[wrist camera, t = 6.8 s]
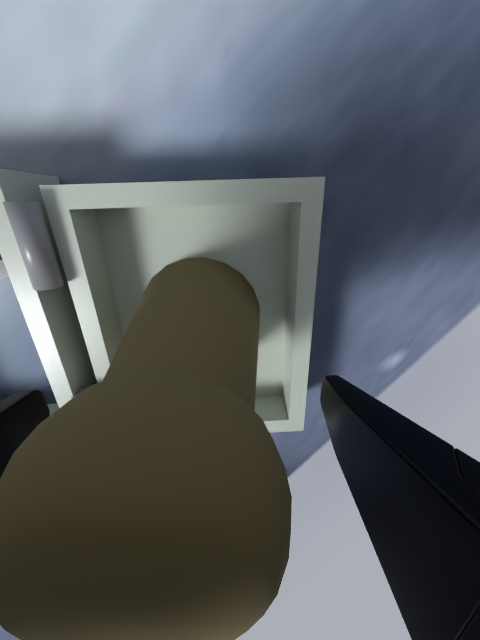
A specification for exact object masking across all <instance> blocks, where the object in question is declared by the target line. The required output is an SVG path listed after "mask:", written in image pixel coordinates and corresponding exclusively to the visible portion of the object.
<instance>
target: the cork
mask: <svg viewBox="0 0 480 640" xmlns="http://www.w3.org/2000/svg"><path fill="white" fill-rule="evenodd" d="M259 327H260V305H259V303H258V300H257V297H256V294H255V291H254V289H253V287H252V286H251V285H250V284H249V282H248V281H247V280H246V279H245V277H244V276H243V275H242V274H241V273H240V272H238V271H237V270H235V269H234V268H232V267H231V266H229V265H228V264H226V263H223V262H220V261H216V260H213V259H209V258H206V257H205V258H185V259H182V260H179V261H177V262H174V263H171V264H169V265H166V266H165V267H164V268H163V269H162V270H160V271H159V272H158V273H157V274H156V275H154V276H153V277H152V278H151V280H150V282H149V284H148V286H147V287H146V289H145V291H144V293H143V295H142V297H141V299H140V301H139V303H138V305H137V308H136V310H135V312H134V314H133V316H132V318H131V321H130V323H129V325H128V327H127V329H126V331H125V334H124V336H123V338H122V340H121V342H120V344H119V347H118V349H117V351H116V353H115V355H114V357H113V360H112V362H111V364H110V366H109V368H108V370H107V373H106V375H105V377H104V379H103V381H102V382H100V383H97V384H94V385H91V386H90V387H88V388H87V389H85V390H84V391H83V392H81V393H80V394H78V395H77V396H75V397H74V398H72V399H71V400H70V401H68V402H67V403H66V404H64V405H63V406H62V407H61V408H59V409H58V410H57V411H55V412H54V413H53V414H52V415H50V416H49V417H48V418H46V419H45V420H44V421H42V422H41V423H40V424H39V425H38V426H37V427H36V428H35V429H34V430H33V431H32V433H31V434H30V435H29V436H28V437H27V438H26V439H25V440H24V442H23V443H22V444H21V445H20V446H19V447H18V448H17V449H16V451H15V452H14V453H13V455H12V457H11V459H10V461H9V463H8V465H7V466H6V468H5V470H4V472H3V474H2V476H1V478H0V625H1V626H2V627H3V628H4V629H5V630H6V631H7V632H9V633H11V634H12V635H14V636H16V637H17V638H19V639H21V640H235V639H236V638H238V637H239V636H241V635H242V634H243V633H245V632H246V631H248V630H249V628H251V627H252V626H253V625H254V624H255V623H256V622H257V621H258V620H259V619H260V618H261V617H262V616H263V615H264V614H265V612H266V611H267V609H268V608H269V606H270V605H271V603H272V602H273V600H274V599H275V597H276V596H277V594H278V590H279V587H280V584H281V581H282V577H283V575H284V572H285V568H286V565H287V562H288V558H289V547H290V534H291V493H290V489H289V484H288V479H287V475H286V470H285V467H284V464H283V462H282V460H281V457H280V455H279V453H278V450H277V448H276V445H275V443H274V441H273V439H272V437H271V435H270V433H269V431H268V429H267V427H266V425H265V423H264V421H263V419H262V418H261V417H260V416H259V415H258V414H257V413H256V412H255V395H256V378H257V361H258V344H259Z"/></svg>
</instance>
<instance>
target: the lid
mask: <svg viewBox="0 0 480 640" xmlns="http://www.w3.org/2000/svg"><path fill="white" fill-rule="evenodd" d="M39 187H40V191H41V194H42V197H43V201H44V204H45V207H46V211H47V214H48V218H49V221H50V224H51V228H52V231H53V235H54V238H55V241H56V245H57V248H58V251H59V255H60V258H61V262H62V265H63V268H64V272H65V275H66V279H67V282H68V285H69V289H70V292H71V296H72V299H73V302H74V306H75V309H76V312H77V316H78V319H79V323H80V326H81V329H82V333H83V336H84V340H85V343H86V346H87V350H88V353H89V356H90V360H91V363H92V367H93V370H94V373H95V377H96V380H97V383H100V382H102V381H103V379H104V377H105V375H106V373H107V370H108V368H109V366H110V364H111V362H112V360H113V357H114V355H115V353H116V351H117V349H118V347H119V344H120V342H121V340H122V338H123V336H124V334H125V331H126V329H127V327H128V325H129V323H130V321H131V318H132V316H133V314H134V312H135V310H136V308H137V305H138V303H139V301H140V299H141V297H142V295H143V293H144V291H145V289H146V287H147V286H148V284H149V282H150V280H151V278H152V277H153V276H154V275H156V274H157V273H158V272H159V271H160V270H162V269H163V268H164V267H165V266H166V265H169V264H171V263H174V262H177V261H179V260H182V259H185V258H205V257H206V258H209V259H213V260H216V261H220V262H223V263H226V264H228V265H229V266H231V267H232V268H234V269H235V270H237V271H238V272H240V273H241V274H242V275H243V276H244V277H245V279H246V280H247V281H248V282H249V284H250V285H251V286H252V287H253V289H254V291H255V294H256V297H257V300H258V303H259V305H260V327H259V344H258V361H257V378H256V395H255V412H256V413H257V414H258V415H259V416H260V417H261V418H262V419H263V421H264V423H265V425H266V427H267V429H268V431H269V432H287V431H303V429H304V417H305V406H306V394H307V383H308V371H309V360H310V349H311V337H312V326H313V314H314V303H315V291H316V280H317V268H318V257H319V245H320V234H321V222H322V211H323V199H324V188H325V177H297V178H264V179H231V180H198V181H165V182H132V183H99V184H65V185H39Z"/></svg>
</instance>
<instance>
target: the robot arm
mask: <svg viewBox="0 0 480 640" xmlns="http://www.w3.org/2000/svg"><path fill="white" fill-rule="evenodd" d="M320 400H321V406H322V410H323V413H324V417H325V420H326V424H327V427H328V431H329V434H330V437H331V441H332V444H333V448H334V450H335V454H336V456H337V459H338V461H339V464H340V466H341V469H342V471H343V474H344V476H345V478H346V481H347V483H348V486H349V488H350V491H351V493H352V495H353V498H354V500H355V503H356V505H357V507H358V510H359V512H360V515H361V517H362V520H363V522H364V525H365V527H366V530H367V532H368V534H369V537H370V539H371V541H372V544H373V547H374V549H375V551H376V554H377V556H378V559H379V561H380V563H381V566H382V568H383V571H384V573H385V576H386V578H387V581H388V583H389V585H390V588H391V590H392V593H393V595H394V598H395V600H396V602H397V604H398V607H399V609H400V612H401V614H402V617H403V619H404V622H405V624H406V627H407V629H408V632H409V634H410V636H411V639H412V640H480V462H478V461H477V460H475V459H473V458H472V457H470V456H468V455H467V454H465V453H464V452H462V451H460V450H459V449H454V447H453V446H452V445H450V444H449V443H447V442H445V441H444V440H442V439H440V438H439V437H437V436H436V435H434V434H432V433H431V432H429V431H427V430H426V429H424V428H422V427H421V426H419V425H418V424H416V423H414V422H413V421H411V420H410V419H408V418H406V417H405V416H403V415H401V414H400V413H398V412H397V411H395V410H393V409H392V408H390V407H388V406H387V405H385V404H383V403H382V402H380V401H379V400H377V399H375V398H374V397H372V396H370V395H369V394H367V393H366V392H364V391H362V390H361V389H359V388H357V387H356V386H354V385H353V384H351V383H349V382H348V381H346V380H344V379H343V378H341V377H340V376H338V375H329V376H324V377H323V380H322V388H321V397H320ZM49 416H50V410H49V407H48V405H47V402H46V400H45V397H44V395H43V392H42V391H41V390H39V389H25V390H22V391H19V392H17V393H15V394H13V395H11V396H9V397H7V398H5V399H2V400H0V478H1V476H2V474H3V472H4V470H5V468H6V466H7V465H8V463H9V461H10V459H11V457H12V455H13V453H14V452H15V451H16V449H17V448H18V447H19V446H20V445H21V444H22V443H23V442H24V440H25V439H26V438H27V437H28V436H29V435H30V434H31V433H32V431H33V430H34V429H35V428H36V427H37V426H38V425H39V424H40V423H41V422H42V421H44V420H45V419H46V418H48V417H49Z"/></svg>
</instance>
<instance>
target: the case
mask: <svg viewBox="0 0 480 640" xmlns="http://www.w3.org/2000/svg"><path fill="white" fill-rule="evenodd" d="M39 185H60V181H59V177H57V176H50V175H43V174H37V173H30V172H23V171H17V170H10V169H3V168H0V254H1V255H0V278H10V280H11V283H12V286H13V288H14V291H15V294H16V296H17V299H18V301H19V304H20V307H21V309H22V312H23V314H24V317H25V320H26V322H27V325H28V328H29V330H30V333H31V335H32V338H33V341H34V343H35V346H36V348H37V351H38V354H39V356H40V359H41V362H42V364H43V367H44V369H45V372H46V375H47V377H48V380H49V383H50V385H51V388H52V390H53V393H54V396H55V398H56V401H57V403H54V404H47V405H48V407H49V410H50V415H52V414H53V413H54V412H55V411H57V410H58V409H59V408H61V407H62V406H63V405H64V404H66V403H67V402H68V401H70V400H71V399H72V398H74V397H75V396H77V395H78V394H80V393H81V392H83V391H84V390H85V389H87V388H88V387H90V386H91V385H94V384H97V380H96V377H95V373H94V370H93V367H92V363H91V360H90V356H89V353H88V350H87V346H86V343H85V340H84V336H83V333H82V329H81V326H80V323H79V319H78V316H77V312H76V309H75V306H74V302H73V299H72V296H71V292H70V289H69V285H68V282H67V279H66V275H65V272H64V268H63V265H62V262H61V258H60V255H59V251H58V248H57V245H56V241H55V238H54V235H53V231H52V228H51V224H50V221H49V218H48V214H47V211H46V207H45V204H44V201H43V197H42V194H41V191H40V187H39Z"/></svg>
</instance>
